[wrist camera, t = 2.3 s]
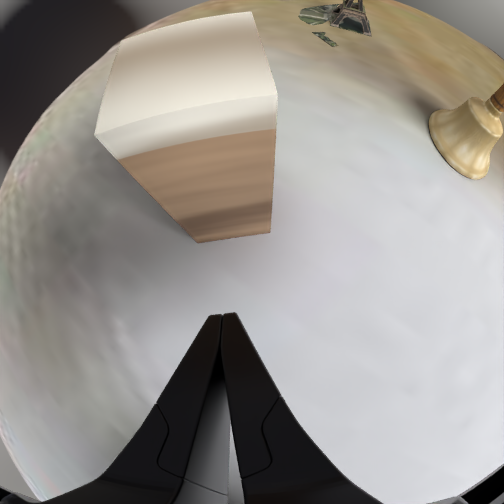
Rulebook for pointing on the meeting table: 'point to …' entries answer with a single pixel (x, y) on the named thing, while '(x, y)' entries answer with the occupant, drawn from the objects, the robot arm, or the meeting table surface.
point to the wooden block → (197, 123)
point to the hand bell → (469, 133)
